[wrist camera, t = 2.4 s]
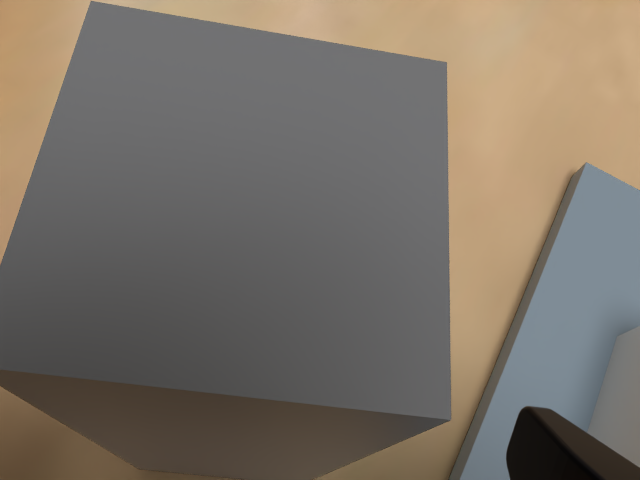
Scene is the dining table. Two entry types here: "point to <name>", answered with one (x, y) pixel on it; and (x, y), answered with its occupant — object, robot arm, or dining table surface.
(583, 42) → the dining table surface
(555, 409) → the outlet plate
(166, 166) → the brick
